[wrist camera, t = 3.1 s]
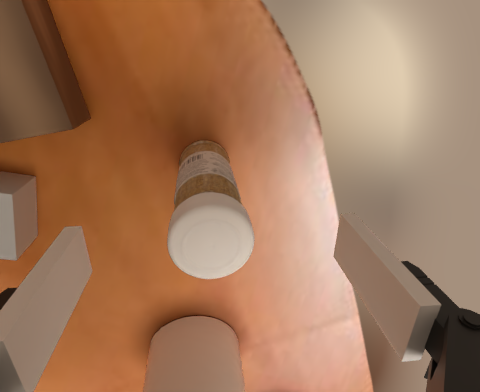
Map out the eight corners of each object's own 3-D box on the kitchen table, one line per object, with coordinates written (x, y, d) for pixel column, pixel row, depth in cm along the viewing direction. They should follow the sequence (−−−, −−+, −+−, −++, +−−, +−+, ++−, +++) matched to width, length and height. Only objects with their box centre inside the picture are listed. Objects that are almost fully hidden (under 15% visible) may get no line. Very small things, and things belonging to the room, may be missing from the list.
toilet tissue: (231, 305, 35) (243, 392, 26) (245, 373, 41) (260, 464, 32) (137, 325, 35) (117, 420, 26) (164, 391, 40) (155, 489, 31)
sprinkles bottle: (191, 193, 29) (188, 294, 17) (170, 149, 27) (149, 227, 15) (237, 175, 29) (267, 264, 17) (219, 130, 27) (238, 193, 15)
